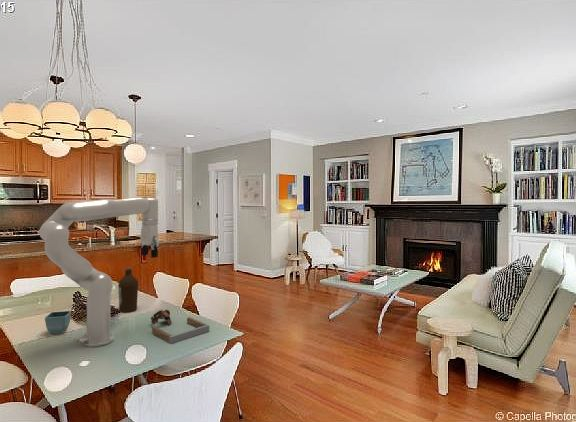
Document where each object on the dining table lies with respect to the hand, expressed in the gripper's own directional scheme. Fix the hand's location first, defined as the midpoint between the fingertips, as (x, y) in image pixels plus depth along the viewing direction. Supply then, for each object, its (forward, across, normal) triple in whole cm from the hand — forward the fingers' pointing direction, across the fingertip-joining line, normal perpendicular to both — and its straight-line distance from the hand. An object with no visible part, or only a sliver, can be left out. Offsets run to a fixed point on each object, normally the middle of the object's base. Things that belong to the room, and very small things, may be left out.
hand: (149, 256), depth 175 cm
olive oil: (+37, -35, +5) cm, 51 cm away
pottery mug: (+37, -1, +8) cm, 38 cm away
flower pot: (+37, -25, -33) cm, 55 cm away
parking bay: (+37, +16, +8) cm, 41 cm away
